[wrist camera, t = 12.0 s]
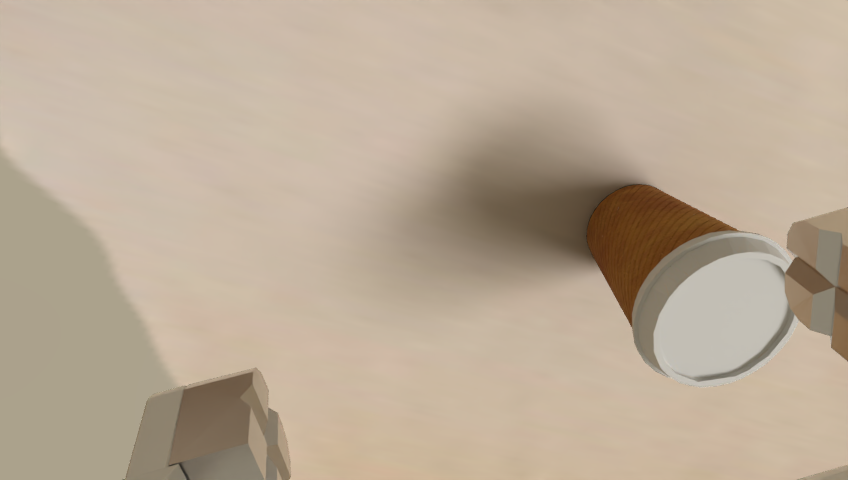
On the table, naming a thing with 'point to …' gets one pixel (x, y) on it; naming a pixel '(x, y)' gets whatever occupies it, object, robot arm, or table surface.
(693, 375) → the disposable coffee cup
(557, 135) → the table surface
